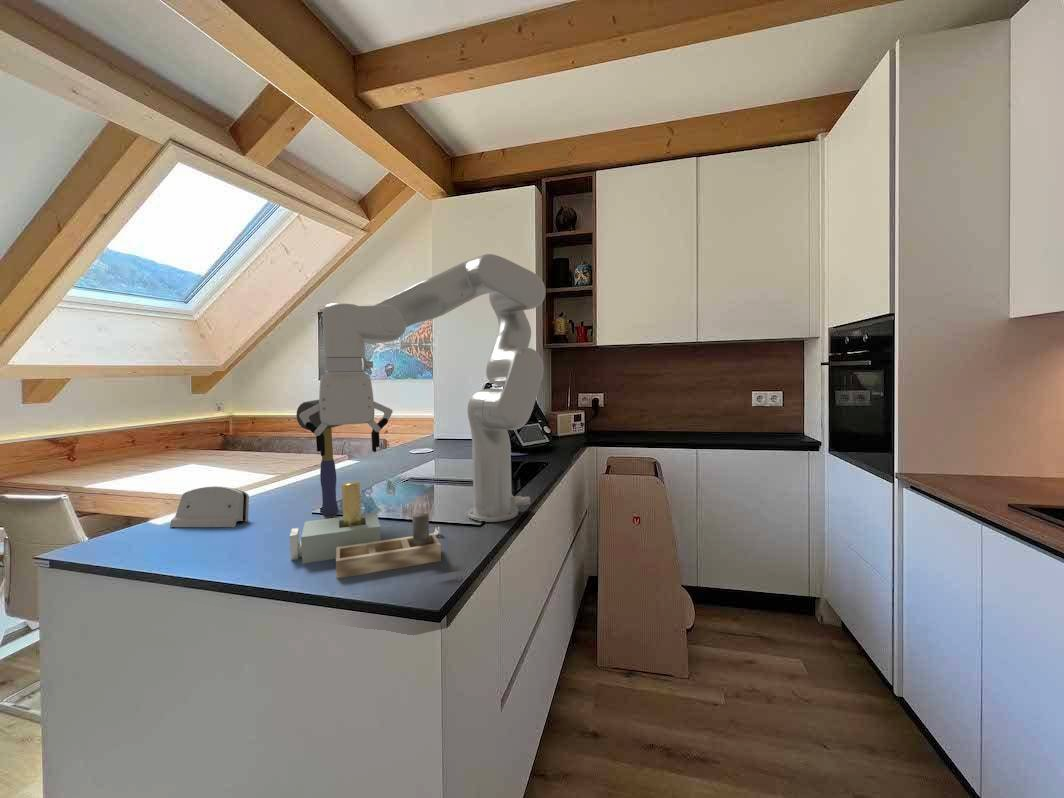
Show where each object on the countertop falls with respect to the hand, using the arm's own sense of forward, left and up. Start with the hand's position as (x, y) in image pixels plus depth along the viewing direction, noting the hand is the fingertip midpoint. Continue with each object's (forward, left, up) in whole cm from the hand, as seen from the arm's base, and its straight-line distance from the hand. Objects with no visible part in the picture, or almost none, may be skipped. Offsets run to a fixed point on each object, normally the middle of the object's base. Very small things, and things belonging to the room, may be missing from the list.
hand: (349, 452), depth 94 cm
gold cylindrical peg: (0, 0, -19) cm, 19 cm away
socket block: (+2, 0, -20) cm, 20 cm away
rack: (-6, +11, -20) cm, 24 cm away
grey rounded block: (+32, -35, -21) cm, 52 cm away
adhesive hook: (-16, 0, -21) cm, 26 cm away
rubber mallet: (+5, -27, -20) cm, 34 cm away
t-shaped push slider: (+7, 0, -20) cm, 21 cm away
